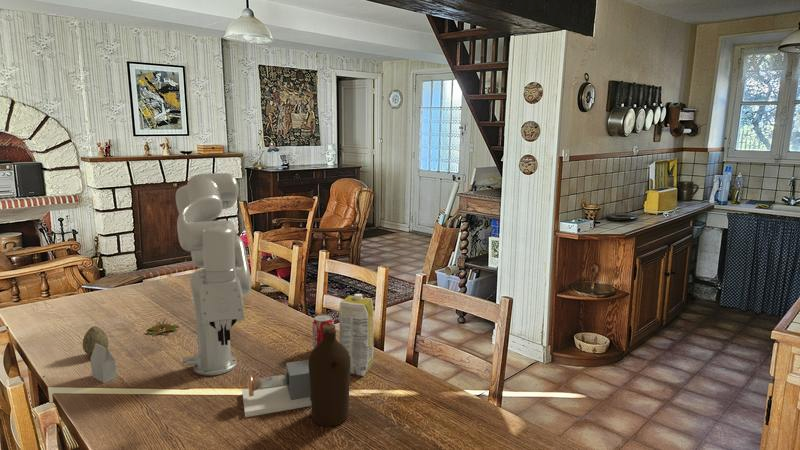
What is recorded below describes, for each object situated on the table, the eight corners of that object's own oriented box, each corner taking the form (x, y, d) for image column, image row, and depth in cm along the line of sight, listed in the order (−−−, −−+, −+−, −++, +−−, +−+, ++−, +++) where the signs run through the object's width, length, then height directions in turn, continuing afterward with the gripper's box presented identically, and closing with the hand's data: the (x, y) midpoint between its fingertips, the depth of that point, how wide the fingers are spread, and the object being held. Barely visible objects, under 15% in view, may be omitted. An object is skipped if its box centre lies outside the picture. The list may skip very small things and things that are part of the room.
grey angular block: (104, 383, 150) (100, 351, 148) (92, 376, 154) (88, 345, 152) (116, 378, 153) (113, 346, 151) (105, 372, 157) (101, 341, 155)
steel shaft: (249, 400, 137) (248, 381, 136) (248, 390, 142) (247, 371, 141) (304, 391, 142) (304, 372, 141) (301, 381, 147) (301, 363, 146)
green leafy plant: (186, 325, 194) (185, 314, 193) (169, 339, 182) (168, 326, 181) (155, 324, 195) (154, 312, 194) (136, 337, 183) (135, 325, 182)
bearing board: (245, 417, 134) (243, 386, 132) (242, 394, 145) (241, 366, 143) (347, 399, 143) (346, 370, 141) (337, 379, 154) (336, 352, 152)
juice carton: (375, 366, 162) (375, 293, 158) (365, 378, 155) (365, 302, 150) (348, 362, 165) (347, 290, 160) (337, 373, 158) (336, 298, 153)
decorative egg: (114, 353, 169) (111, 324, 167) (93, 362, 163) (90, 332, 161) (99, 349, 172) (96, 320, 170) (79, 357, 166) (75, 328, 164)
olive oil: (359, 415, 135) (359, 325, 131) (329, 433, 128) (327, 338, 123) (331, 401, 142) (330, 315, 137) (301, 417, 134) (298, 326, 129)
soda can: (330, 357, 168) (329, 322, 166) (309, 355, 170) (308, 320, 167) (337, 348, 175) (336, 314, 173) (317, 346, 177) (316, 312, 174)
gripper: (187, 282, 125) (193, 353, 128) (252, 276, 130) (255, 345, 133) (189, 273, 132) (193, 341, 135) (250, 268, 137) (253, 334, 140)
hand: (224, 343), depth 134 cm, fingers closed
